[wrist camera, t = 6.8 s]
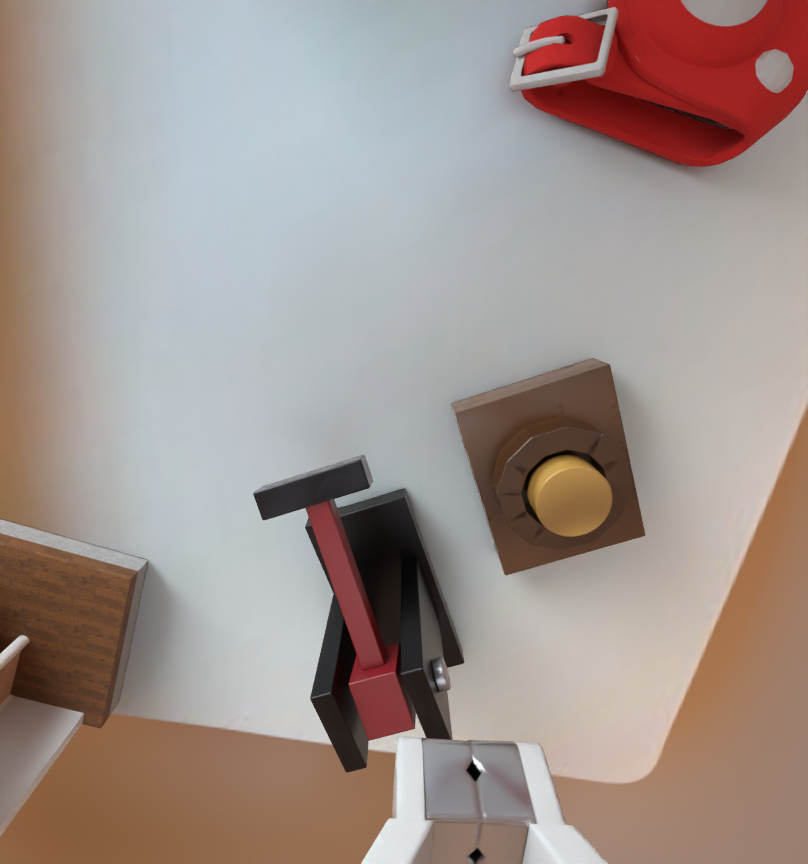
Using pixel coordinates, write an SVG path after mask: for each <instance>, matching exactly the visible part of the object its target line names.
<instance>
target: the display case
mask: <svg viewBox="0 0 808 864" xmlns="http://www.w3.org/2000/svg"><path fill="white" fill-rule="evenodd" d="M147 563H148V560H145V559H142V558H138V557H135V556H131V555H127V554H124V553H120V552H117V551H113V550H109V549H106V548H102V547H99V546H95V545H91V544H88V543H84V542H80V541H77V540H73V539H70V538H66V537H62V536H59V535H55V534H52V533H48V532H44V531H41V530H37V529H34V528H30V527H26V526H23V525H19V524H16V523H12V522H8V521H5V520H1V519H0V836H1V835H2V833H3V832H4V831H5V829H6V828H7V826H8V825H9V824H10V822H11V821H12V819H13V818H14V817H15V815H16V814H17V813H18V811H19V810H20V809H21V807H22V806H23V804H24V803H25V802H26V800H27V799H28V798H29V796H30V795H31V793H32V792H33V791H34V789H35V788H36V787H37V785H38V784H39V783H40V781H41V780H42V778H43V777H44V776H45V774H46V773H47V771H48V770H49V769H50V767H51V766H52V765H53V763H54V762H55V761H56V759H57V758H58V756H59V755H60V754H61V752H62V751H63V750H64V748H65V747H66V745H67V744H68V743H69V741H70V740H71V739H72V737H73V736H74V735H75V733H76V732H77V730H78V729H79V728H80V726H81V725H82V724H85V725H89V726H93V727H97V728H101V727H102V726H103V724H104V723H105V722H106V720H107V719H108V717H109V716H110V714H111V713H112V711H113V710H114V708H115V707H116V705H117V704H118V702H119V699H120V694H121V690H122V685H123V680H124V675H125V670H126V665H127V660H128V656H129V651H130V646H131V641H132V636H133V631H134V626H135V622H136V617H137V612H138V607H139V602H140V597H141V592H142V588H143V583H144V578H145V573H146V568H147Z"/></svg>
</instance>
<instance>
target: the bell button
mask: <svg viewBox="0 0 808 864" xmlns="http://www.w3.org/2000/svg"><path fill="white" fill-rule="evenodd" d="M527 496H528V500H529V503H530V505H531V506H532V508H533V510H534V512H535V513H536V515H537V517H538V519H539V520H540V522H541V523H542V524H543V526H544V527H545V528H547V529H548V530H549V531H551V532H553V533H555V534H558V535H561V536H567V537H574V536H580V535H584V534H587V533H589V532H591V531H593V530H594V529H596V528H597V527H598V526H600V525H601V524H602V523H603V522H604V520H605V519H606V518H607V516H608V514H609V512H610V510H611V506H612V498H613V495H612V490H611V487H610V485H609V482H608V481H607V480H606V478H605V477H604V476H603V475H602V474H601V473H600V472H599V471H598V470H597V469H596V468H595V467H593V466H592V465H591V464H590V463H589V462H588V461H587V460H585V459H583V458H581V457H579V456H575V455H558V456H554V457H552V458H549V459H547V460H545V461H544V462H543V463H541V464H540V465H539V466H538V467H537V468H536V469H535V470H534V472H533V473H532V475H531V477H530V479H529V482H528V486H527Z"/></svg>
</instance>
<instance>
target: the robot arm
mask: <svg viewBox="0 0 808 864" xmlns="http://www.w3.org/2000/svg"><path fill="white" fill-rule="evenodd" d="M361 864H608V863H607V862H606V861H605V860H604V859H603V857H602V856H601V855H600V854H599V853H598V852H597V851H596V850H595V849H594V847H593V846H592V845H591V844H590V843H589V842H588V841H587V840H586V839H585V837H584V836H583V835H582V834H581V833H580V832H579V831H578V830H577V829H576V827H575V826H571V825H566V822H565V819H564V816H563V813H562V809H561V806H560V803H559V800H558V796H557V793H556V790H555V786H554V783H553V780H552V777H551V773H550V770H549V767H548V764H547V760H546V757H545V754H544V751H543V748H542V746H541V745H540V744H539V743H528V742H515V743H514V742H513V741H479V740H468V741H460V740H446V739H432V738H422V739H421V738H413V737H398V738H397V747H396V761H395V775H394V794H393V818H390V819H388V821H387V822H386V824H385V826H384V827H383V829H382V831H381V832H380V834H379V835H378V837H377V838H376V840H375V842H374V843H373V845H372V847H371V848H370V850H369V852H368V853H367V855H366V856H365V858H364V860H363V861H362V863H361Z"/></svg>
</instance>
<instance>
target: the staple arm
mask: <svg viewBox="0 0 808 864" xmlns="http://www.w3.org/2000/svg"><path fill="white" fill-rule="evenodd" d="M372 482H373V479H372V476H371V473H370V470H369V467H368V464H367V461H366V458H365V456H364V455H361V456H358V457H355V458H352V459H349V460H345V461H342V462H339V463H336V464H333V465H329V466H326V467H323V468H320V469H317V470H314V471H310V472H307V473H304V474H301V475H298V476H295V477H291V478H288V479H285V480H282V481H279V482H275V483H272V484H269V485H266V486H263V487H262V488H260V489H259V490H257V491H255V492H254V493H253V494H254V497H255V500H256V503H257V506H258V508H259V511H260V514H261V517H262V519H263V520H267V519H270V518H274V517H277V516H280V515H283V514H287V513H290V512H293V511H296V510H299V509H303V508H306V511H307V513H308V516H309V519H310V522H311V525H312V528H313V531H314V534H315V536H316V539H317V542H318V545H319V548H320V551H321V554H322V556H323V559H324V562H325V565H326V568H327V571H328V574H329V576H330V579H331V582H332V585H333V588H334V591H335V594H336V597H337V599H338V602H339V605H340V608H341V611H342V614H343V617H344V619H345V622H346V625H347V628H348V631H349V634H350V637H351V639H352V642H353V645H354V648H355V651H356V654H357V655H356V659H355V663H354V666H353V670H352V674H351V677H350V681H349V687H350V690H351V693H352V696H353V699H354V701H355V704H356V707H357V710H358V713H359V716H360V718H361V721H362V724H363V727H364V730H365V733H366V736H367V738H368V740H373V739H377V738H381V737H385V736H389V735H393V734H396V733H400V732H404V731H408V730H412V729H415V717H416V711H415V709H414V706H413V704H412V701H411V699H410V696H409V694H408V692H407V689H406V687H405V684H404V682H403V679H402V677H401V675H400V669H401V646H400V643H395V644H391V645H388V646H384V643H383V640H382V638H381V635H380V632H379V629H378V626H377V623H376V620H375V617H374V614H373V611H372V608H371V606H370V603H369V600H368V597H367V594H366V591H365V588H364V585H363V582H362V579H361V576H360V573H359V571H358V568H357V565H356V562H355V559H354V556H353V553H352V550H351V547H350V544H349V541H348V538H347V536H346V533H345V530H344V527H343V524H342V521H341V518H340V515H339V512H338V509H337V506H336V504H335V501H334V499H335V498H338V497H342V496H345V495H348V494H351V493H355V492H358V491H361V490H364V489H368V488H369V487H370V486H371V484H372Z"/></svg>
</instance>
